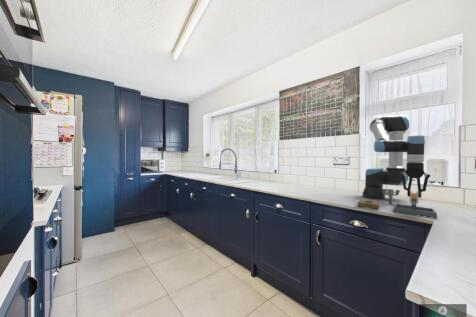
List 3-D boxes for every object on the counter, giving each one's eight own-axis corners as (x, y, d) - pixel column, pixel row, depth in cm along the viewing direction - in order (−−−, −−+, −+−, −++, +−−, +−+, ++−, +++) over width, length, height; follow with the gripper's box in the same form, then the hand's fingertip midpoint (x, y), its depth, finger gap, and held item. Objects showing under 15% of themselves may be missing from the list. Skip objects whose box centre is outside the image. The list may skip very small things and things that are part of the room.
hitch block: (359, 203, 138) (360, 199, 138) (379, 206, 131) (379, 201, 131) (357, 206, 129) (357, 202, 129) (378, 209, 122) (378, 205, 122)
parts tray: (393, 208, 126) (394, 203, 126) (433, 213, 115) (433, 208, 115) (393, 212, 118) (394, 207, 118) (436, 218, 106) (436, 213, 106)
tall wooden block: (410, 209, 119) (411, 192, 119) (415, 209, 118) (416, 192, 117) (411, 210, 115) (411, 193, 115) (416, 211, 114) (417, 194, 113)
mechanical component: (400, 204, 136) (400, 190, 135) (383, 203, 138) (383, 189, 137) (397, 203, 139) (397, 189, 138) (380, 202, 141) (381, 188, 140)
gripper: (398, 161, 117) (397, 201, 118) (434, 162, 108) (432, 206, 109) (398, 161, 123) (397, 199, 124) (432, 162, 114) (430, 203, 114)
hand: (413, 202), depth 116 cm, fingers closed on tall wooden block, 2 cm apart
